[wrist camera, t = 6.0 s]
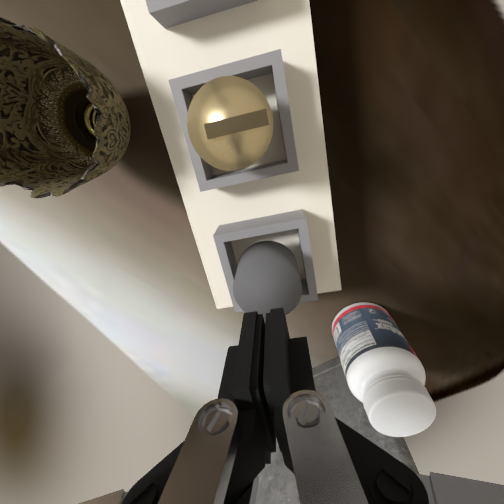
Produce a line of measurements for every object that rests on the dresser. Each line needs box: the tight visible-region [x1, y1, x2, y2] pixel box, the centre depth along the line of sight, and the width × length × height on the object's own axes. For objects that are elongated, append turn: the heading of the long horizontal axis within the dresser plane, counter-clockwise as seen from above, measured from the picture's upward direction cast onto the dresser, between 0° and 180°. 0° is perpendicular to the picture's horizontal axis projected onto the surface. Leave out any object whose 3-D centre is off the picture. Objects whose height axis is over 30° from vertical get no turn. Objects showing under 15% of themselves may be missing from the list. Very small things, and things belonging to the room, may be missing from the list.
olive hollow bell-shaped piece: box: [0, 17, 131, 198], centre depth 16 cm, size 8×7×8 cm
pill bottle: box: [332, 302, 436, 437], centre depth 21 cm, size 5×5×9 cm
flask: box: [255, 357, 419, 504], centre depth 20 cm, size 4×14×18 cm, turn 132°
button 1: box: [233, 241, 302, 319], centre depth 16 cm, size 4×4×3 cm
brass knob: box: [187, 76, 273, 171], centre depth 13 cm, size 4×4×3 cm
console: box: [120, 0, 341, 312], centre depth 17 cm, size 23×9×6 cm, turn 12°
